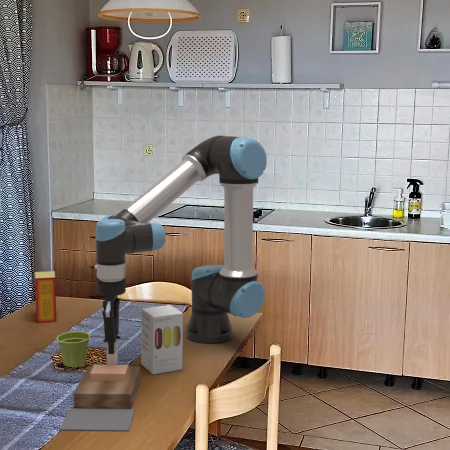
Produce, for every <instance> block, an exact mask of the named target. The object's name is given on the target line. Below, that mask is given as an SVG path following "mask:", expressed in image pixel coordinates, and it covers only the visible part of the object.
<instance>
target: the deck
mask: <svg viewBox="0 0 450 450" xmlns="http://www.w3.org/2000/svg"><path fill="white" fill-rule="evenodd" d="M93 367H94V365H88V366H87V367H86V369H85V371H84V373H83V375H82V376H81V379H80V380H79V382H78V385H77V387H76V388H75V391H74V393H73V408H93V409H133V408H132V407H133V404H134V401H135V399H136V396H137V392H138V388H139V385H140V382H141V366H134V365H133V366H129V372H128V375H127V378H126V381H90V373H91V371H92V369H93Z"/></svg>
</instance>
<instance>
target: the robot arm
mask: <svg viewBox="0 0 450 450" xmlns="http://www.w3.org/2000/svg"><path fill="white" fill-rule="evenodd" d="M267 162H268V158H267V152H266V150H265V147H264V146H263V145H262V144H261V143H260V142H259V141H258V140H256V139H254V138H252V137H251V138H250V137H247V136H231V135H230V136H228V135H215V136H212V137H209V138H207V139H205V140H203V141H202V142H200V143H199V144H197V145H195V146H193V148H191V149H190V150H189V151H187V152H186V153H185V154H183V156H182V157H181V162H179V163H178V164H177V165H176V166H174V167H173V169H171V170H170V171H168V172H167V173H166V174H165V175H164V176H163V177H161V178H160V179H158V181H156V182H155V183H154V184H152V185H151V186H150V187H149V188H148V189H147V190H146V191H144V192H143V193H142V194H140V195H139V196H138V197H136V198H135V199H134V200H132V202H131V203H129V204H128V205H127V206H126V207H125V208H123V209H122V210H121V211H120V212H118V213H117V214H116V215H114V214H113V215H107V216H104V217H103V218H102V219H100V220H99V221H97V222H96V223H95V224H96V227H95V258H96V262H95V263H96V265H94V270H96V278H97V279H96V293H97V294H98V295H100V296H104V300H102V308H103V310H102V311H101V312H102V317H103V330H104V332H103V333H104V339H103V343H106V365H119V364H118V363H119V356H118V355H119V352H118V351H119V350H118V349H119V347H118V345H119V344H118V340H120V339H121V335H119V334H120V331H119V329H120V328H119V327H120V303H121V298H120V297H119V296H122V295H123V294H125V293H126V285H127V284H126V276H127V275H126V274H127V273H126V272H127V271H126V270H127V268H126V266H127V265H126V264H127V263H126V255H131V254H138V253H144V252H153V251H156V250H160V249H162V248H163V247H164V245H165V244H166V231H165V229H164V226H163V225H161V223H159V222H150V221H152V220H153V219H154V218H155V217H156V216H158V215H159V214H160V213H161V212H162V211H163V210H165V209H166V208H167V207H168V206H169V205H171V204H172V203H173V202H174V201H176V200H177V199H178V198H179V197H181V196H182V195H183V194H184V193H185V192H187V191H188V190H189V189H190V188H191V187H192V186H193V185H195V184H196V183H197V182H204V181H205V180H206V179H207V178H209V177H210V176H213V175H218V177H219V178H218V179H219V181H218V182H219V185H220V186H221V187H222V188H223V189H224V192H223V193H224V195H223V197H224V199H223V200H224V202H223V203H224V204H223V205H224V208H223V210H224V212H223V214H224V215H223V216H224V218H223V220H224V223H223V231H224V233H223V234H224V235H223V236H224V237H223V239H224V241H223V243H224V244H223V246H224V248H223V249H224V250H223V254H224V255H223V256H224V257H223V259H224V261H223V262H224V263H223V264H207V265H201V266H198V267H195V268H194V269H193V270H192V272H191V279H190V281H191V313H190V316H189V320H188V323H187V325H186V330H185V334H186V335H185V336H186V338H187V339H188V340H190V341H192V342H194V343H195V342H196V343H199V344H219V343H224V342H227V341H230V340H231V339H232V338H233V335H234V332H233V331H234V329H233V326H232V322H231V319H230V316H229V314H230V315H232V316H234V317H238V318H239V317H240V318H243V319H246V318H248V319H249V318H251V317H253V316H254V315H256V314H257V313H258V312H259V311H260V309H261V308H262V307H263V305H264V302H265V298H266V291H265V287H264V286H263V284H262V283H261V282H259V281H258V271H257V269H256V268H255V267H253V265H254V264H253V262H254V261H253V258H254V257H253V255H254V254H253V253H254V251H253V249H254V248H253V247H254V246H253V243H254V238H253V236H254V188H255V187H256V186H257V185H258V184H259V178H260V177H261V176H262V175H263V174H264V171H265V170H266V168H267V164H268V163H267Z"/></svg>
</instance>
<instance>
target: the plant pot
mask: <svg viewBox="0 0 450 450" xmlns="http://www.w3.org/2000/svg"><path fill="white" fill-rule="evenodd" d="M55 339H56V341H57V342H58V343H57V344H58V345H59V348H60V353H61V359H62V365H63V364H64V365H65V366H67V367H79V366H82V365H84V364H85V363H87V354H88V344H89V342H90V339H91V334H90V333H88V332H84V331H67V332H64V333H61V334H59V335H57V336H56V338H55ZM64 365H63V366H64ZM85 365H86V364H85Z"/></svg>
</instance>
